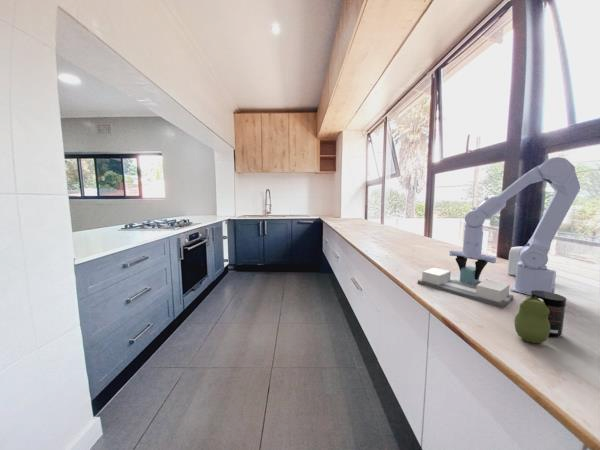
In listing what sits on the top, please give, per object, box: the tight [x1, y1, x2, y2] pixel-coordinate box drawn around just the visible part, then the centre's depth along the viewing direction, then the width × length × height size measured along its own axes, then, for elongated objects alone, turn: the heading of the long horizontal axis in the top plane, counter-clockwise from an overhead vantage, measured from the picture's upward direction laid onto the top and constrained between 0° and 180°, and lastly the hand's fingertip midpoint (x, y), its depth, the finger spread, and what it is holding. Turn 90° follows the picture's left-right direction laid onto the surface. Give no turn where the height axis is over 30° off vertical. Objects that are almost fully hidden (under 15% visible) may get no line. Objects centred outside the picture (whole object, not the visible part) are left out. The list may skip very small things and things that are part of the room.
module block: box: [459, 265, 480, 285], centre depth 91 cm, size 4×7×5 cm, turn 126°
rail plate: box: [417, 267, 514, 309], centre depth 82 cm, size 25×11×4 cm, turn 36°
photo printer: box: [507, 245, 524, 277], centre depth 95 cm, size 10×4×12 cm, turn 39°
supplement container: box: [529, 290, 568, 338], centre depth 56 cm, size 6×6×9 cm
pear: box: [514, 295, 550, 344], centre depth 52 cm, size 6×5×10 cm
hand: (469, 277), depth 91 cm, fingers closed on module block, 4 cm apart
